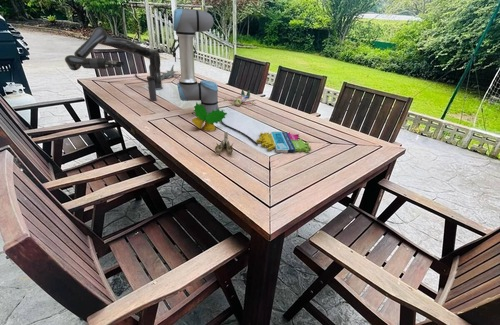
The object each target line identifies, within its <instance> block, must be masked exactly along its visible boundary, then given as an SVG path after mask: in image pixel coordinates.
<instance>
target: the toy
mask: <svg viewBox="0 0 500 325" xmlns="http://www.w3.org/2000/svg"><path fill="white" fill-rule="evenodd" d="M240 92H241V93H240V95H238V96H237V97H235V99H233V98H230V99H228V98H227V97H226V96H225V97H224V98H223V101H224V102H233V103H232V104H233V105H235V106H242V103H243V104H247V105H252V106H255V105H256V104H257V103H256V102H254V101H253V100H252V101H251V102H250V101H248V100H246V99H248V98H250V97H251V90H250V89H249V90H248V91H247V92H246V93H245V91H244V89H242V90H241V91H240Z"/></svg>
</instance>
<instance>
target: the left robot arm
mask: <svg viewBox="0 0 500 325" xmlns="http://www.w3.org/2000/svg"><path fill="white" fill-rule="evenodd" d="M98 45H103V46H107V47H111V48H114V49H116V50H120V51H123V52H125V53H129V54H132V55H138V56H141V57H143V58H146V59H148V60H149V65H148V69H149V70H148V71H149V76H154V77H155V80H154V81H155V90H161V89H163V82H162V80H161V75H162V73H160V72H161V55H160V52H159V51H158V50H157V49H153V48H147V47H145V46H142V45H140V44H138V43H136V42H134V41H131V40H129V39H127V38H120V37H111V36H109V35H108V32H107V31H106V29H104V28H103V27H96V28H94V29H93V31H92V32H91V35H90V36H89V37H88V39H87V40H85V41H84V43H82V44H81V45H80V46H79V47H78V48H77V49H76V50H75V51H74V53H73V54H74V55H73V54H69V55H66V56H65V57H64V62H65V63H66V65H67V67H68V68H69V69H70V71H75V72H76V71H78V70H79V69H81V67H82V68H83V69H87V70H107V69H108V68H109V69H110V68H113V69H115V68H122V67H123V66H124V65H125V62H124V61H118V60H108V61H107V59H106V58H104V57H89V55H90V54H91V53H92V52H93V51H94V49H95V48H96V47H97V46H98ZM132 74H135V77H136V78H137V79H139V80H141V81H144V82H146V83H148V80H147V79H143V78H142V77H141V78H140V77H138V76H137V72H136V71H132Z"/></svg>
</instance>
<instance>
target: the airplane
mask: <svg viewBox="0 0 500 325" xmlns="http://www.w3.org/2000/svg"><path fill="white" fill-rule="evenodd" d="M174 66H175V65H174V64H172V66H171V68H170V70H166V72H163V71H162V72H161V71H160V73H161V81H163V80H165V79H171V78H173V77H174V78H176V77H177V76H181V73H177V71H175V70H174Z"/></svg>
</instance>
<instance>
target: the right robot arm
mask: <svg viewBox="0 0 500 325" xmlns="http://www.w3.org/2000/svg"><path fill="white" fill-rule="evenodd" d="M172 20H173V22H172V23H173V24H172V30H173V31H174V32H175V35H176V37H177V39H176V38H174V39H173V43H172V46H171V48H170V53H172V57H173V58H174V62H177V57H176V56H177V54H176V52H177V50H179V63H180V74H181V75H180V79H178V82H176V86H177V90H178V91H177V92H178V95H179V99H180V100H181V101H183V102H184V101H185V102H192V101H193V102H194V101H195V102H196V101H198V102H199V101H200V104H201V106H204V109H206V112H208V113H211V112H212V110H214V111H216V110H217V109H219V111H221V110H220V108H219V102H218V99H219V98H218V97H219V94H218V93H219V88H218V84H217V83H216V82H215V81H213V80H207V79H206V80H205V79H202V80H200V81H199V82H198V80H197V79H196V77H195V76H196V75H195V54H196V53H197V50H196V48H195V46H194V38H195V37H196V33H203V32H207V31H210V30H211V29H212V28H213V26H214V22H215V20H214V17H213V15H212V14H210V13H209V12H207V11H205V10H201V9H188V8H175V9H174V10H173V19H172ZM176 43H178V44H177V45H176ZM208 113H207V115H208ZM219 122H220V123H221V124H222V125H223V126H225V127H227V128H229V129H231V130H232V131H233V130H234V131H235V132H238V133H240V134H241V135H243V136H245V137H246V138H248V139H249V140H250V141H252V142H253V143H254V144H255V145H256V146H258V144H259V143H257V142H256V140H254V139H253V138H252V137H250V136H249V135H248V134H246V133H244V132H242V131H240V130H239V129H236V128H234V127H232V126H230V125H228V124H225V123H224V122H223V121H222V122H221V121H219Z"/></svg>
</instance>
